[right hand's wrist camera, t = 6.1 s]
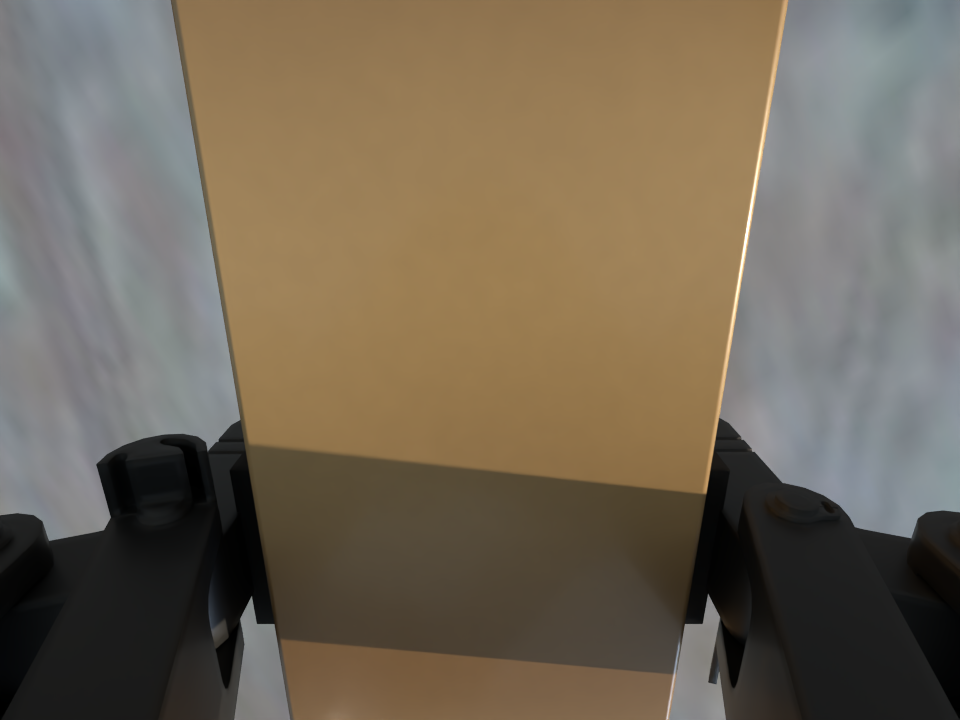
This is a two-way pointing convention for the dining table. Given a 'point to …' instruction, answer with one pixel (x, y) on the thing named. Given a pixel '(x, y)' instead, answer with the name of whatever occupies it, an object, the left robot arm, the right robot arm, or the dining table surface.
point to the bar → (479, 331)
